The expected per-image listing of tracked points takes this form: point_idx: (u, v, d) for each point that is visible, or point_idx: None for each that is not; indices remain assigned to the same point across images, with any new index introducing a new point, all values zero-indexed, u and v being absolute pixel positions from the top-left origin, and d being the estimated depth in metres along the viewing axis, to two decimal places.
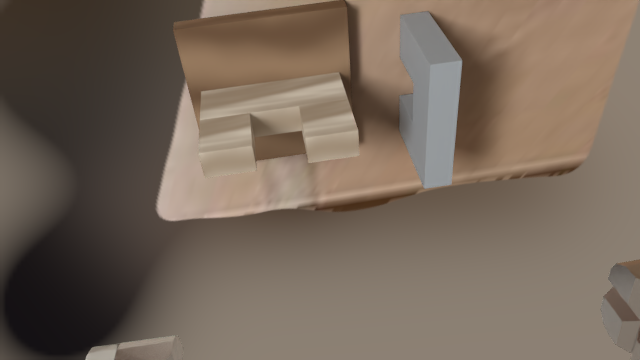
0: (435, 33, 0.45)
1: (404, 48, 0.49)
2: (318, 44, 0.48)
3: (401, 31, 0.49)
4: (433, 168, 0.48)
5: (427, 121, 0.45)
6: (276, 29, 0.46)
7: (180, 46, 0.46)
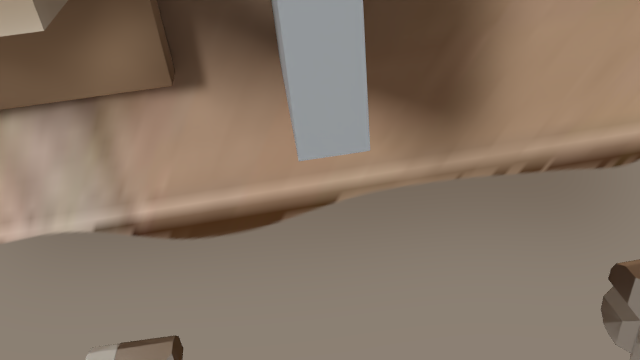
0: None
1: None
2: None
3: None
4: (314, 102, 0.18)
5: None
6: None
7: None
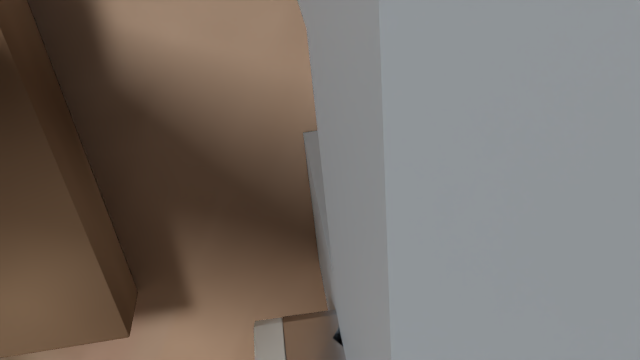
0: None
1: None
2: None
3: None
4: None
5: None
6: None
7: None
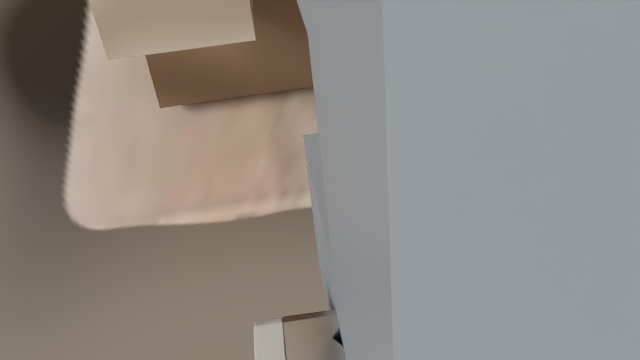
0: None
1: None
2: None
3: None
4: None
5: None
6: None
7: None
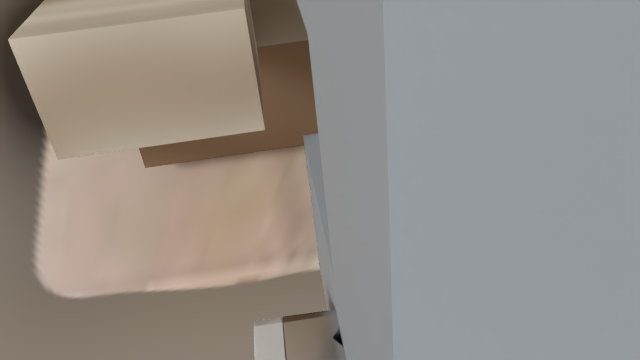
0: None
1: None
2: None
3: None
4: None
5: None
6: None
7: None
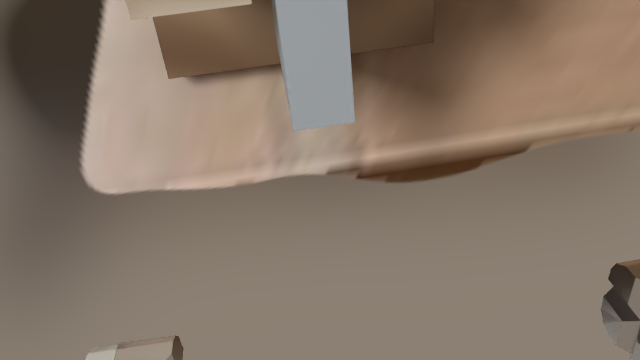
0: None
1: None
2: None
3: None
4: (306, 79, 0.21)
5: None
6: None
7: None
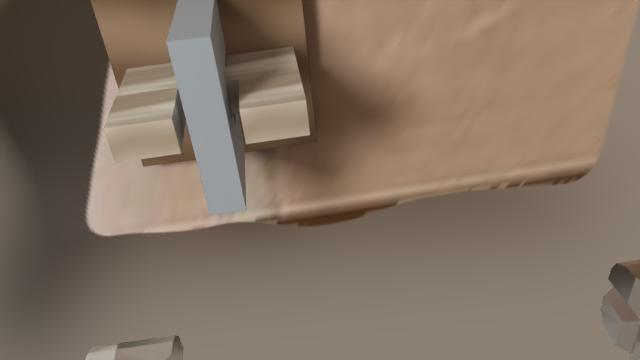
0: (203, 11, 0.35)
1: None
2: (265, 10, 0.40)
3: None
4: (215, 189, 0.37)
5: (187, 122, 0.34)
6: None
7: (97, 10, 0.38)
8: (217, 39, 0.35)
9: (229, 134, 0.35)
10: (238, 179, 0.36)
